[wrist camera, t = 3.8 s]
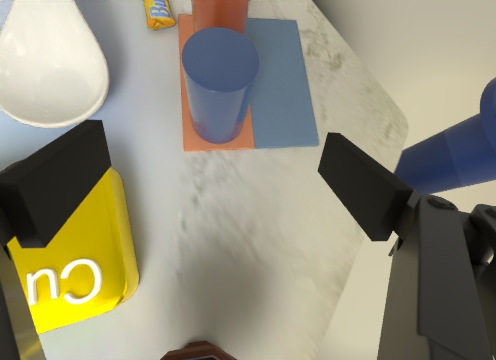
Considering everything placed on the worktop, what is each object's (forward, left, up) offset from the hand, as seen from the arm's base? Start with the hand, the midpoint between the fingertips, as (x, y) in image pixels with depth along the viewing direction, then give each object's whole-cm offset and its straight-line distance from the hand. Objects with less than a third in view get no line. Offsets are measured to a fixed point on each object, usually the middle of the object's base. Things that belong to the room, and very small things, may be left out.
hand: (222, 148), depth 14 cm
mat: (-5, -16, -16) cm, 23 cm away
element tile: (+17, +4, -16) cm, 24 cm away
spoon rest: (+17, -20, -16) cm, 31 cm away
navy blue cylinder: (-1, -10, -15) cm, 18 cm away
